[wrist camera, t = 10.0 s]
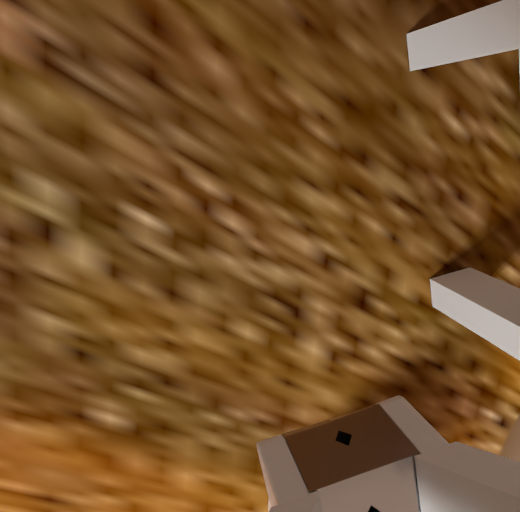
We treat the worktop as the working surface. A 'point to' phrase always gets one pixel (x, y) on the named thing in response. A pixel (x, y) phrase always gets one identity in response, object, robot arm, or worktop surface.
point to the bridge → (470, 280)
